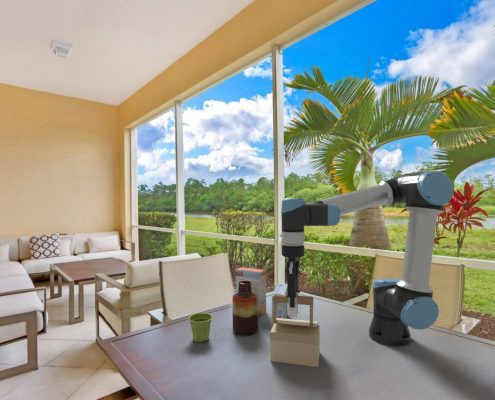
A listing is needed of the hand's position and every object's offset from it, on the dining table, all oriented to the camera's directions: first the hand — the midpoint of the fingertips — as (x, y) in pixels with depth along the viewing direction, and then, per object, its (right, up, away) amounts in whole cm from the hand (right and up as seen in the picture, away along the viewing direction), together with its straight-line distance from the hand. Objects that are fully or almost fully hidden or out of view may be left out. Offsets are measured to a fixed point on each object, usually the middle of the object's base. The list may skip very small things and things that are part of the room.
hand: (293, 314), depth 106 cm
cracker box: (-14, -16, +49) cm, 53 cm away
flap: (+1, -4, +3) cm, 5 cm away
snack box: (-1, -17, +35) cm, 38 cm away
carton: (+2, -17, +5) cm, 17 cm away
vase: (-16, -17, +27) cm, 36 cm away
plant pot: (-34, -17, +20) cm, 43 cm away
